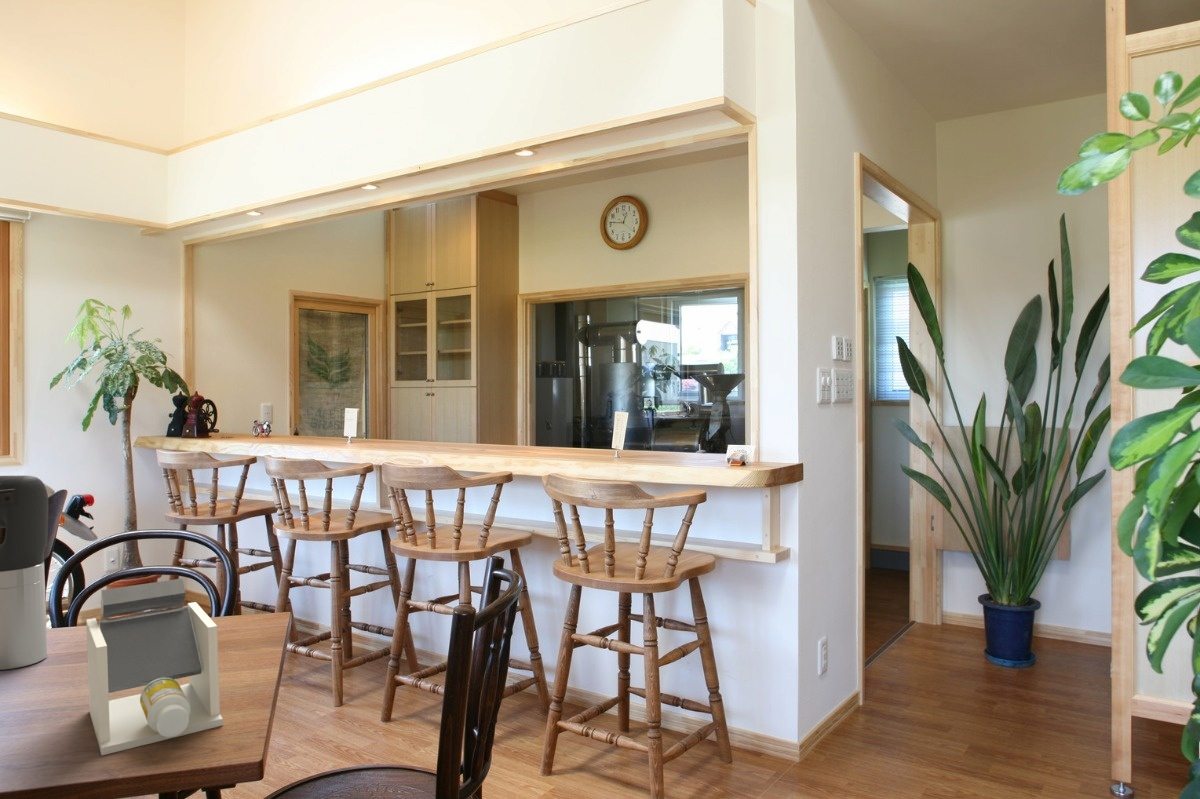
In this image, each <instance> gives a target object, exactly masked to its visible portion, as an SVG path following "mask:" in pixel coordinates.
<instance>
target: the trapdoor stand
mask: <svg viewBox="0 0 1200 799" xmlns="http://www.w3.org/2000/svg"><path fill="white" fill-rule="evenodd" d="M187 606H188V609H189V614H190V618H191V623H192V627H193V632H194V636H195V641H196V646H197V650H198V655H199V659H200V664H201V668H202V671H201V674H197V675H193V676H189V683H185V684H181V685H180V684H179V685H180V687H181V689H182V691H183V693H184V695H185V697H186V699H187V700H188V702H189V705H190V714H189V723H188V725H187V727H186V729H185V730H184V731H183V732H182V733H180V734H179V735H177V736H174V737H164V736H162V735H160V734H159V733H158V732H155V731H154V730H152V729H151V728H150V726H149V724H148V722H147V719H146V717H145V714H144V712H143V709H142V707H141V704H140V696H141V693H139V694H134V695H128V696H124V697H120V698H115V699H111V700H110V699H109V694H110V693H108V663H107V645H106V642H105V640H104V637H103V635H102V633H101V630H100V628H99V622H98V621H97V618H96V617H95V618H94V617H93V618H87V619H86V620H85V621H86V623H85V624H86V646H87V647H86V649H87V650H86V652H87V653H86V654H87V680H88V682H87V683H88V706H89V707H88V708H89V715H90V718H91V722H92V726H93V729H94V733H95V737H96V740H97V744H98V748H99V751H100V754H101V756H105V755H109V754H113V753H118V752H121V751H125V750H129V749H133V748H136V747H141V746H145V745H146V746H147V745H149V744H150V745H151V744H154V743H157V742H161V741H166V740H169V739H174V738H177V737H182V736H186V735H190V734H193V733H199V732H201V731H206V730H210V729H213V728H214V729H215V728H218V727H221V726H223V725H224V719H223V716H222V715H221V714H220V711H221V710H220V708H221V707H220V683H219V682H220V681H219V678H220V675H219V647H218V625H217V624H216V623H215V622H214V621H213V619H211V617H210V616H209V615H208V613H206V612H205V611H204V610H203V608H202V607H201V606H200V604H198V603H197V602H196V601H195V602H188V603H187Z"/></svg>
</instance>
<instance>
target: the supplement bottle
mask: <svg viewBox="0 0 1200 799" xmlns="http://www.w3.org/2000/svg"><path fill="white" fill-rule="evenodd" d="M140 694H141V696H140V704H141V707H142V709H143V712H144V714H145V717H146V719H147V722H148V724H149V726H150V728H151V729H152V730H154V731H155V732H158V733H159V734H160V735H162V736H164V737H174V736H177V735H179V734H180V733H182V732H183V731H184V730H185V729H186V727H187V725H188V723H189V714H190V705H189V702H188V700H187V699H186V697H185V695H184V693H183V691H182V689H181V687H180V684H179V683H178V681H177V680H176V679H171V678H159V679H156V680H153V681H152V682H150V683H149V684H148V685H145V687H144V688H143V690H142V691H141V693H140ZM174 738H175V737H174Z"/></svg>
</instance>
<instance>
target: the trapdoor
mask: <svg viewBox="0 0 1200 799" xmlns="http://www.w3.org/2000/svg"><path fill="white" fill-rule="evenodd" d="M100 594H101V595H100V606H101V615H102V619H99V620H98V625H99V628H100V630H101V633H102V635H103V637H104V640H105V642H106V645H107V663H108V693H109V694H111V693H116V692H120V691H124V690H125V691H126V690H129V689H134V688H140V687H143V686H145V687H146V686H147V685H148V684H149V683H150V682H152V681H153V680H156V679H159V678H171V679H174V680H177V679H182V678H187V677H190V676H193V675H197V674H201V671H202V668H201V664H200V659H199V655H198V650H197V646H196V641H195V636H194V632H193V627H192V623H191V618H190V614H189V609H188V605H185V598H186V589H185V584H184V579H183V578H176V579H170V580H163V581H156V582H149V583H142V584H136V585H135V584H134V585H128V586H127V585H126V586H120V587H115V588H108V589H101V593H100Z"/></svg>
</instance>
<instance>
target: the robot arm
mask: <svg viewBox="0 0 1200 799" xmlns="http://www.w3.org/2000/svg"><path fill="white" fill-rule="evenodd" d="M48 527H49V496H48V490H47V487H46V486H45V483H44V482H43V480H41V479H40V478H38V477H37V476H35V475H0V529H5V534H4V535H5V536H4V540H3V542H2V543H1V544H0V670H11V669H18V668H22V667H26V666H29V665H33V664H36V663H38V662H41V661H43V660H44V659H46V658H47V657H48V638H47V634H48V632H47V629H48V628H47V606H46V604H47V603H46V579H45V577H46V576H45V552H46V548H47V545H48V536H49V535H48V534H49V532H48V531H49V530H48V529H49V528H48Z"/></svg>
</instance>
